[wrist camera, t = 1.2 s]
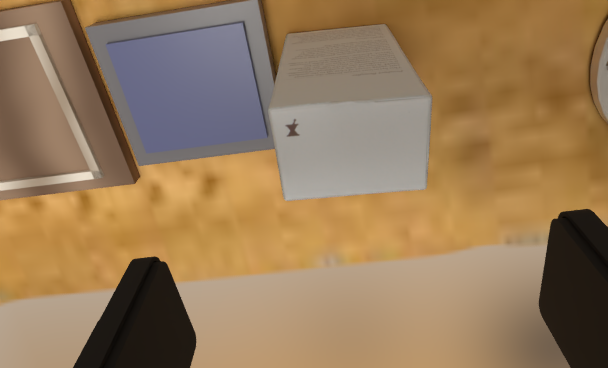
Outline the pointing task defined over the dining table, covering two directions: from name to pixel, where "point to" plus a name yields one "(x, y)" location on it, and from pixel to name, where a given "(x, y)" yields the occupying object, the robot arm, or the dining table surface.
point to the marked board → (55, 108)
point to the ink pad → (190, 80)
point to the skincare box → (349, 115)
